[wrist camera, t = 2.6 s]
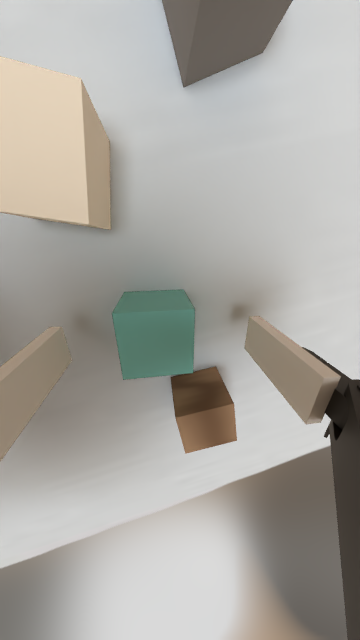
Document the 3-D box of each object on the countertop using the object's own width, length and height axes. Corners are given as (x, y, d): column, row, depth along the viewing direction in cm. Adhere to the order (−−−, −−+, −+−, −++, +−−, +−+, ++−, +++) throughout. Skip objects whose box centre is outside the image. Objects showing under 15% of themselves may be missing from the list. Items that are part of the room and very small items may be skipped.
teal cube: (131, 342, 17) (123, 379, 13) (124, 291, 15) (112, 313, 11) (183, 339, 18) (193, 373, 13) (183, 289, 16) (194, 309, 11)
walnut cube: (178, 408, 22) (185, 453, 17) (170, 376, 20) (175, 417, 15) (219, 398, 22) (236, 440, 17) (215, 366, 20) (233, 403, 15)
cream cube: (35, 218, 13) (-33, 206, 8) (20, 122, 11) (-80, 34, 6) (111, 229, 13) (89, 224, 9) (109, 142, 11) (81, 78, 7)
